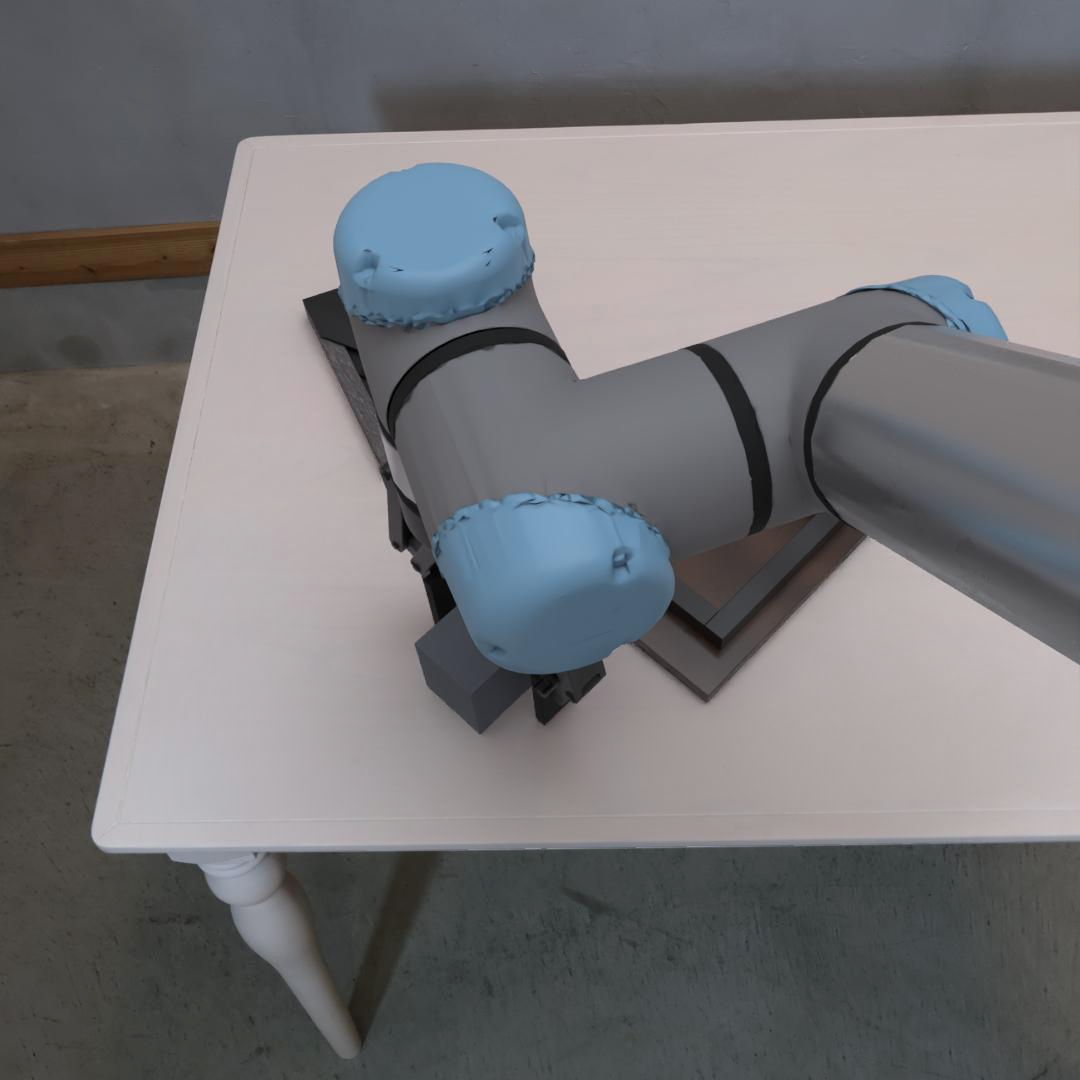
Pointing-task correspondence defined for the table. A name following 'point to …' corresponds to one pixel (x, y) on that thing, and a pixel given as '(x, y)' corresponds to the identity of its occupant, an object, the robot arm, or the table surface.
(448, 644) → the pad block
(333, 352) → the picture frame
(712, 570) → the back plate
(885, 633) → the table surface
